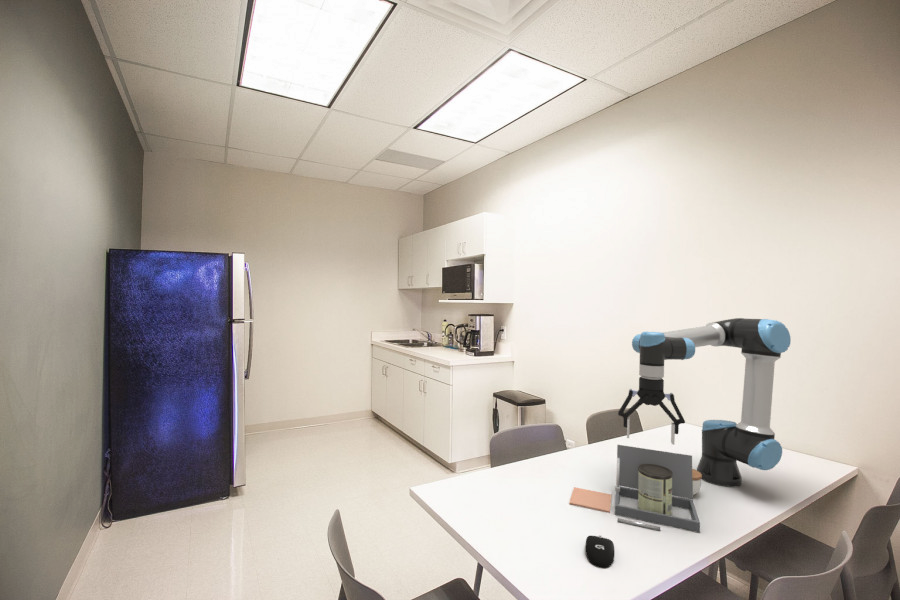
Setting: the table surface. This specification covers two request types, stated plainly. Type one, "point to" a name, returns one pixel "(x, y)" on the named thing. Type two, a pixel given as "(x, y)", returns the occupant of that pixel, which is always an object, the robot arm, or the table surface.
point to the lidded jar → (696, 480)
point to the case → (681, 485)
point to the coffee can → (655, 488)
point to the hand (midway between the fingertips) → (649, 440)
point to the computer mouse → (599, 551)
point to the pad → (591, 499)
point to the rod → (638, 524)
